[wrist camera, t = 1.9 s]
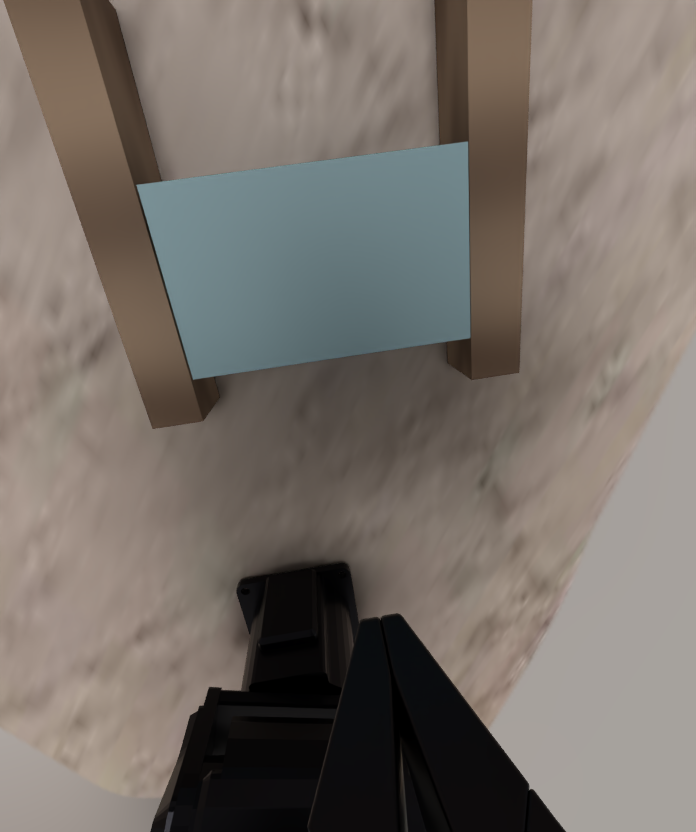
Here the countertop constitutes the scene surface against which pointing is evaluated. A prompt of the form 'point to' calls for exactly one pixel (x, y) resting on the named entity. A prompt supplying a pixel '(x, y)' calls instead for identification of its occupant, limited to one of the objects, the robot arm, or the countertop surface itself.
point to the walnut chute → (135, 164)
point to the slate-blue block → (315, 258)
